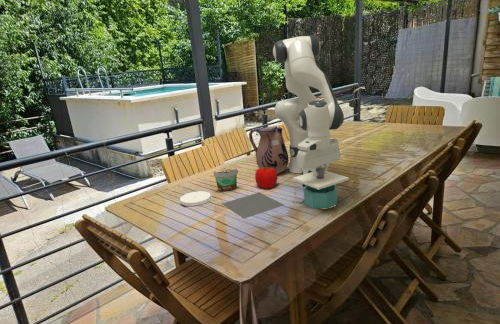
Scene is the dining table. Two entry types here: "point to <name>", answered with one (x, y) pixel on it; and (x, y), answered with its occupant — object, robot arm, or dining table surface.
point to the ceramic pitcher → (270, 148)
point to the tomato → (266, 177)
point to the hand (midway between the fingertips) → (319, 175)
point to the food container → (226, 180)
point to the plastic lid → (195, 198)
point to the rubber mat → (252, 205)
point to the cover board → (320, 179)
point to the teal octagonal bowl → (320, 196)
